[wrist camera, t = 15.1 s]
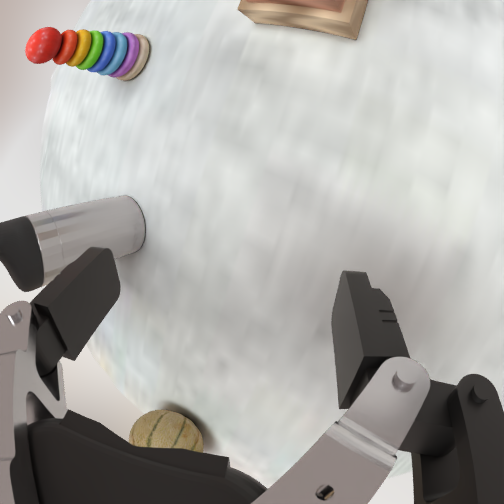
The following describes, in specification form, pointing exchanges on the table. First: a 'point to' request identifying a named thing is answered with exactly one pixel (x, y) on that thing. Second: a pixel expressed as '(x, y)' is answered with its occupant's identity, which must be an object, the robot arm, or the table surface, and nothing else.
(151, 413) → the cantaloupe
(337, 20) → the brick pedestal
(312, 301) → the table surface
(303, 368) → the table surface
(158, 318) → the table surface
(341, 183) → the table surface
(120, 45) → the stacking toy
